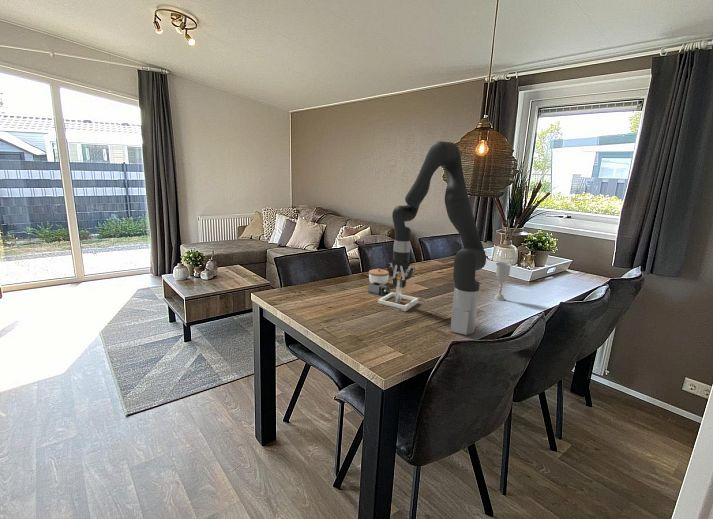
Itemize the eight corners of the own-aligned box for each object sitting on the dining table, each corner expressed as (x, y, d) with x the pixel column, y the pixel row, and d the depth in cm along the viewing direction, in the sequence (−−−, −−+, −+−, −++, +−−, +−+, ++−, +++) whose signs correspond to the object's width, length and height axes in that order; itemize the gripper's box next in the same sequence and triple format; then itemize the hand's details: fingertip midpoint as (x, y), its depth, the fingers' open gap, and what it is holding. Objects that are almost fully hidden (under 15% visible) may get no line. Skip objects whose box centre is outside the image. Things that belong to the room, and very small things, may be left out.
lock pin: (399, 304, 174) (401, 277, 171) (393, 303, 176) (394, 276, 173) (402, 302, 177) (404, 275, 174) (396, 301, 179) (398, 274, 175)
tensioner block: (386, 299, 182) (386, 289, 181) (364, 294, 188) (365, 284, 187) (394, 294, 190) (395, 285, 189) (373, 289, 196) (374, 280, 195)
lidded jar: (366, 287, 200) (367, 270, 198) (370, 281, 210) (371, 265, 208) (386, 289, 198) (387, 272, 196) (389, 283, 208) (390, 267, 206)
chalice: (506, 297, 191) (511, 263, 187) (507, 302, 185) (512, 266, 181) (491, 296, 193) (495, 261, 189) (491, 300, 187) (496, 265, 183)
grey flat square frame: (405, 311, 167) (405, 306, 167) (377, 305, 174) (377, 299, 174) (417, 303, 179) (418, 298, 178) (391, 297, 186) (391, 292, 185)
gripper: (383, 249, 171) (381, 285, 175) (412, 253, 164) (410, 291, 168) (391, 246, 177) (389, 281, 181) (419, 250, 170) (416, 287, 174)
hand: (399, 286), depth 174 cm, fingers open, 3 cm apart
